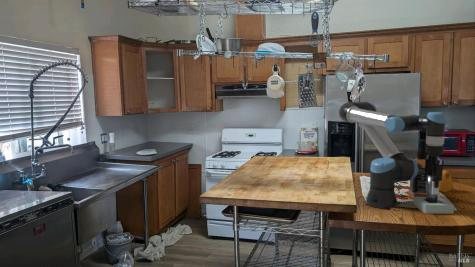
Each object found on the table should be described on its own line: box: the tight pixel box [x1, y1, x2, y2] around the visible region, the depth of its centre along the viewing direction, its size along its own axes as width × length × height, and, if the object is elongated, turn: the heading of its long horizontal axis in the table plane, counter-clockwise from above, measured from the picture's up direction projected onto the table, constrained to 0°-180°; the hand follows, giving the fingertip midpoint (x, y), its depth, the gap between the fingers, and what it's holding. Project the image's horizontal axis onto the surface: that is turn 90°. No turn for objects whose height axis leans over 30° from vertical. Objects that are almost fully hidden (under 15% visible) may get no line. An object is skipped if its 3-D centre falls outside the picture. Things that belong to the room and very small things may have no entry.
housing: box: [412, 196, 455, 215], centre depth 175 cm, size 13×13×5 cm
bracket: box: [438, 169, 454, 193], centre depth 210 cm, size 11×7×12 cm, turn 113°
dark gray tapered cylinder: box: [426, 174, 439, 203], centre depth 174 cm, size 5×5×14 cm
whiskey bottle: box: [408, 139, 428, 199], centre depth 194 cm, size 10×10×32 cm
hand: (432, 192), depth 174 cm, fingers closed on dark gray tapered cylinder, 5 cm apart
